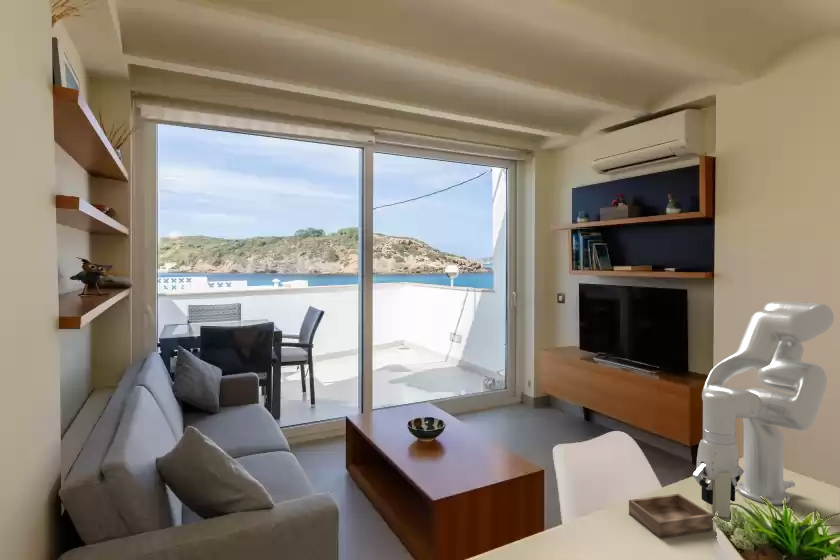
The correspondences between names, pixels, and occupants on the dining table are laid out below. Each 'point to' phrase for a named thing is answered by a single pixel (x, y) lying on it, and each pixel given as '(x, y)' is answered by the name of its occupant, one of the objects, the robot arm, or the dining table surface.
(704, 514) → the box
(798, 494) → the dining table surface
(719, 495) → the skincare box
